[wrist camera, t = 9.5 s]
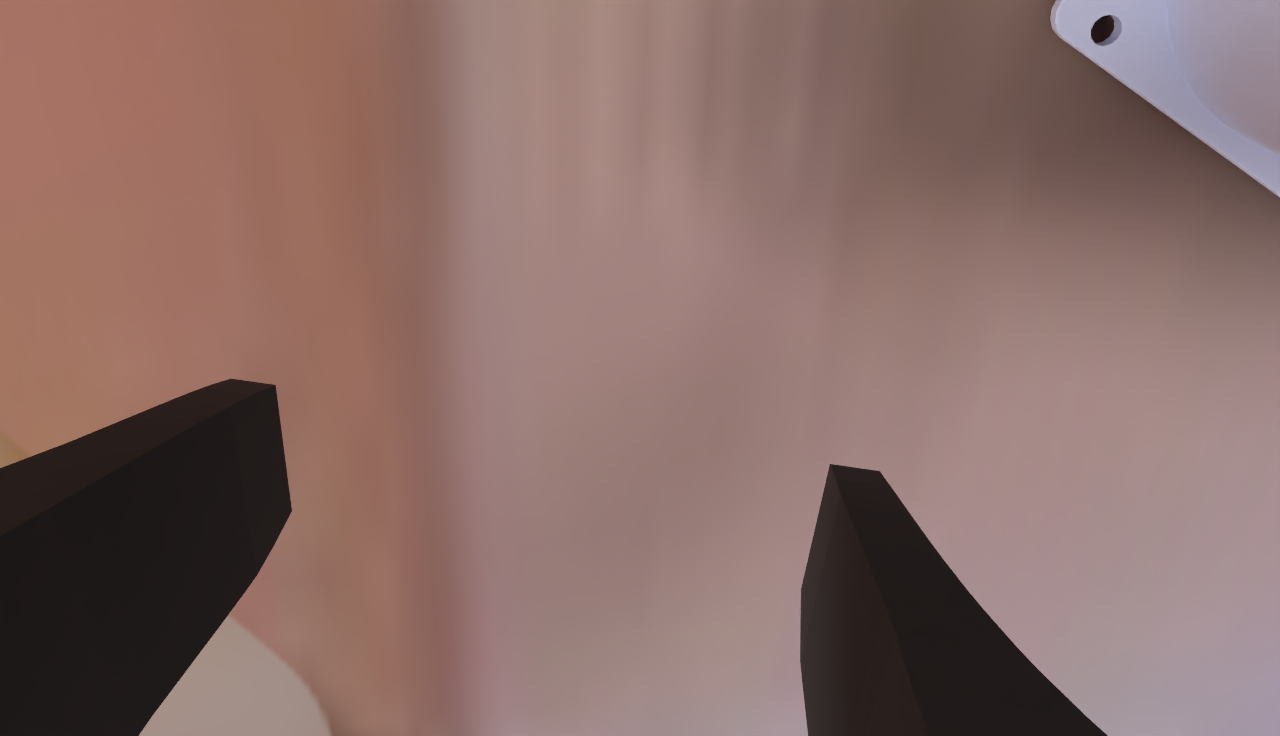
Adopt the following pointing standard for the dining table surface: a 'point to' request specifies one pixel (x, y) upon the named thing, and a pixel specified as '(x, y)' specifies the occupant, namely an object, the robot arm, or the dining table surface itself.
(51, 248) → the dining table surface
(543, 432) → the dining table surface
